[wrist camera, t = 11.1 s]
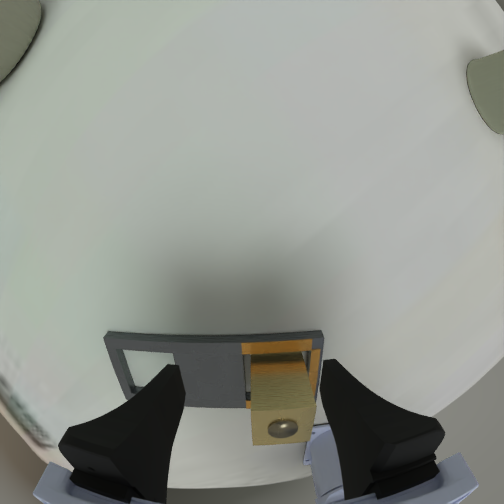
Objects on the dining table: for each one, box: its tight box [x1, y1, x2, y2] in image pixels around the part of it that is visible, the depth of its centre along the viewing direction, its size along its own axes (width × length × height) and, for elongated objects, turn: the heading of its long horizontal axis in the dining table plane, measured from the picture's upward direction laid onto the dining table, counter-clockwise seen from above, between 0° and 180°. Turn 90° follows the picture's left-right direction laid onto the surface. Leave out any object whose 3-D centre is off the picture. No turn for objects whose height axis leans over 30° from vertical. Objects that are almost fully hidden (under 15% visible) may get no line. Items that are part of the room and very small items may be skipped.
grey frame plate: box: [103, 330, 324, 409], centre depth 23 cm, size 8×20×1 cm, turn 92°
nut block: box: [251, 351, 317, 445], centre depth 20 cm, size 4×4×8 cm
